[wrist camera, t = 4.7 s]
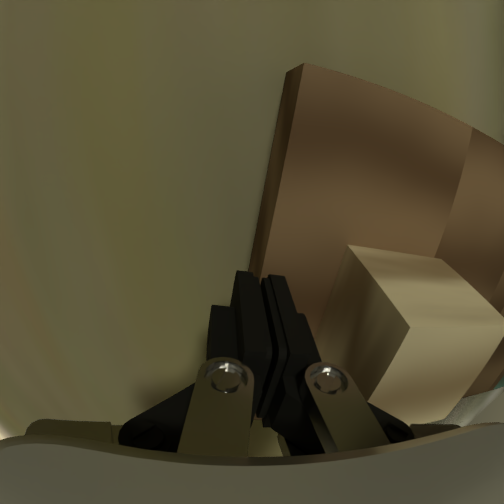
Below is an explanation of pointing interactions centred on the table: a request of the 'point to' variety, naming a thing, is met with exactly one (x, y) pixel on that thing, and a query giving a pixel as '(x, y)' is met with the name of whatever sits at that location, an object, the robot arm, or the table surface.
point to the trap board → (377, 192)
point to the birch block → (407, 332)
